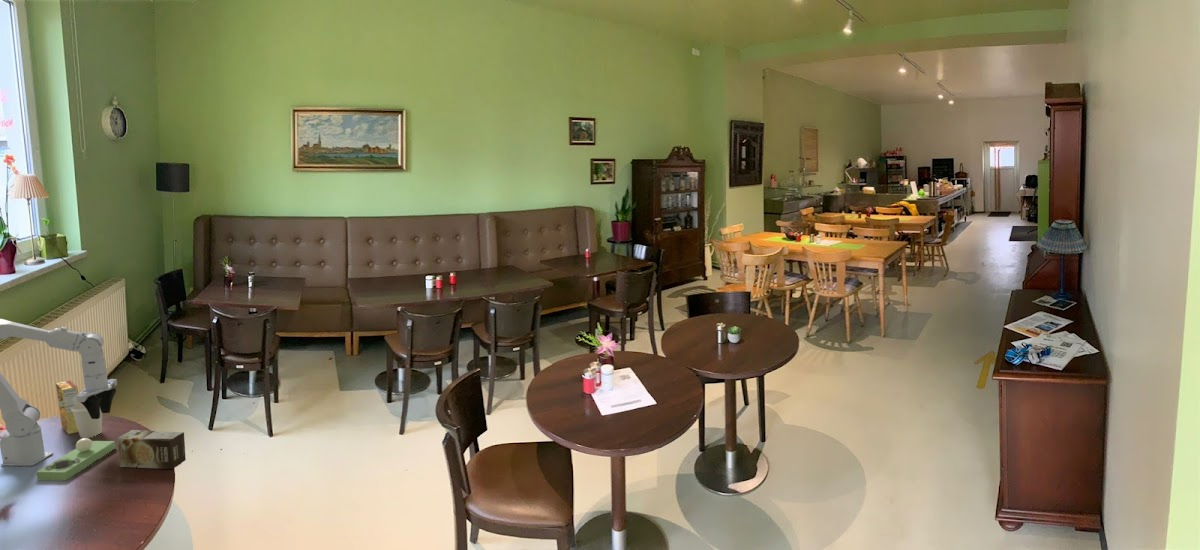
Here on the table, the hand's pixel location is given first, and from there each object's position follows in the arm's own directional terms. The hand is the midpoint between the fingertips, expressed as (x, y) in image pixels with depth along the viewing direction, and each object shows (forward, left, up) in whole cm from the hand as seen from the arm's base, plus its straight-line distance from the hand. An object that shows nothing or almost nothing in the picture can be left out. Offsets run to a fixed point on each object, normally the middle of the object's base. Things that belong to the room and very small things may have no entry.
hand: (100, 415), depth 210 cm
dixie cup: (-11, +9, -11) cm, 18 cm away
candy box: (-20, +13, -11) cm, 26 cm away
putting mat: (0, -11, -10) cm, 15 cm away
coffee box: (+14, -10, -6) cm, 18 cm away
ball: (0, -8, -6) cm, 10 cm away
